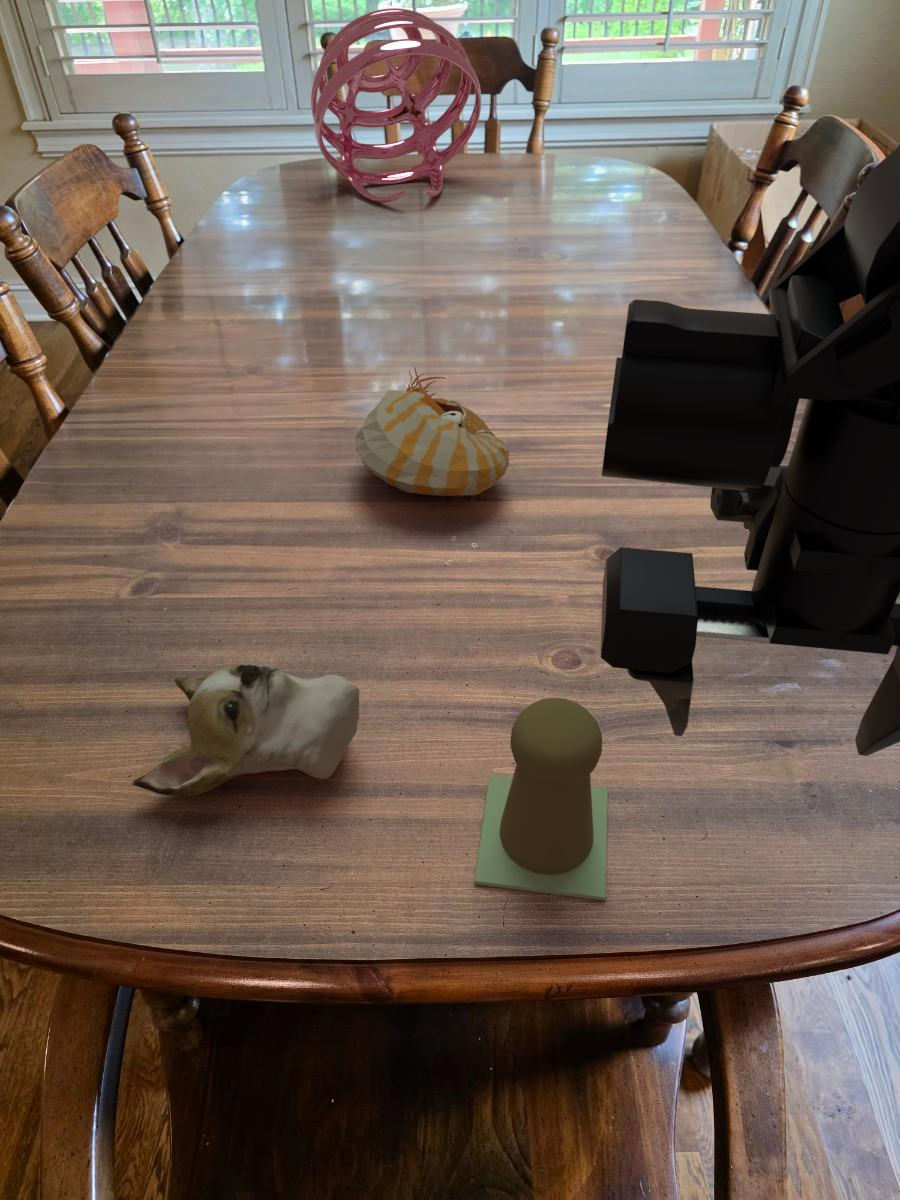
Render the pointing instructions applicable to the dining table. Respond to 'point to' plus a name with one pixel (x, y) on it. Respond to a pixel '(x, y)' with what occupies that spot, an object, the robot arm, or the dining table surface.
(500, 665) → the dining table surface
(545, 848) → the olive pawn
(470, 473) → the nautilus
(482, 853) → the coaster
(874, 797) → the dining table surface
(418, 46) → the spiral basket
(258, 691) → the ceramic sculpture
